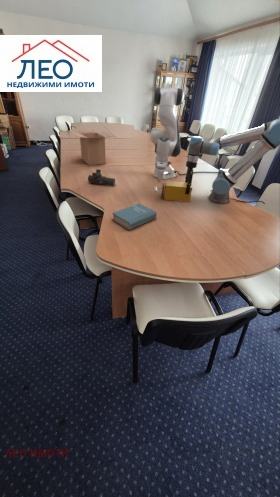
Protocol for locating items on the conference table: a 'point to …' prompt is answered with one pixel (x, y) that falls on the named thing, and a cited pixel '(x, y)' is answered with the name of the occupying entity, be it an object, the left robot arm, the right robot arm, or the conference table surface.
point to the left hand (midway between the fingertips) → (159, 182)
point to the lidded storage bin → (176, 191)
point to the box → (92, 146)
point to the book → (134, 216)
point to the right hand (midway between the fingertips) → (186, 191)
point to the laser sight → (100, 179)
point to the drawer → (160, 191)
